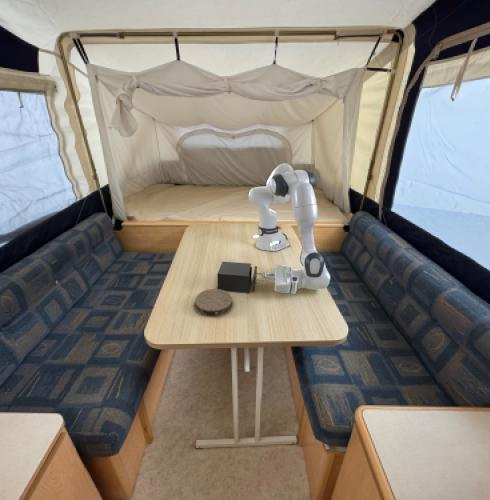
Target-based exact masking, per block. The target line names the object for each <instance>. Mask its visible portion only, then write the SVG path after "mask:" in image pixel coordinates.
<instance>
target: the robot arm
mask: <svg viewBox="0 0 490 500" xmlns="http://www.w3.org/2000/svg"><path fill="white" fill-rule="evenodd" d="M315 185H316V176H315V174H314V172H313V171H312V170H310V169H306V168H305V169H304V168H303V169H295V170H294V168H293V167H292V165H290V164H288V163H287V162H286V163H285V162H283V163H280V164H278V165H277V166H276V167H275V169H273V171H272V172H271V174H270V176H269V177H268V179H267V181H266V185H265V186H255V187H252V188H251V189H250V190H249V193H248V200H249V202H250V204H252V205H253V206H254V207H255V208H256V210H257V212H258V226H257V235H253V238H257V239H256V242H255V247H256V248H257V249H259V250H261V251H270V252H277V251H279V250H282V249H285V248H287V247H289V246H290V243H289V242H288V241H287V240H288V236H287V235H286V233H284V232H281V230H282V229H283V227H282V226H280V225H278V224H277V223H278V213H277V212H276V211H275V210H273V209H271V208H270V206H274V205H277V206H278V205H284V204H288V202H289V201H291V209H292V215H293V217H294V220H295V224H296V226H297V229H298V231H299V236H300V244H301V251H300V255H299V263H300V264H301V266H302V267H303V269H293V268H292V267H290V266H288V265H285V264H275V265H274V272H269V273H267V272H266V273H265V280H266V281H269V282H272V283H274V286H273V287H274V289H273V290H274V292H276V293H281V294H291V295H296V293H297V291H298V290H299V289H307V290H313V291H316V290H317V291H319V290H326V289H328V287H329V286H330V284H331V274H330V272H329V271H328V269H327V265H326V261H325V258H324V256H323V255H322V254H321V253H320V252H319V251H318V250H317V248H316V243H315V237H314V228H315V224H316V222H317V220H318V218H319V217H318V216H319V215H318V214H319V212H318V209H319V208H318V202H317V198H316V194H315V191H314V187H315Z"/></svg>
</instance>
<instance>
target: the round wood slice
mask: <svg viewBox="0 0 490 500" xmlns="http://www.w3.org/2000/svg"><path fill="white" fill-rule="evenodd" d="M194 301H195V302H194V303H195V309H196V311H197V312H198V313H199V314H201V315H203V316H207V317H219V316H222V315H225V314H227V313H228V312H230V310H231V309H232V306H233V298H232V296H231V294H230V293H229V291H224V290H220V289H218V288H210V289H206V290H203V291H200V292H199V293H198V294H197V295H196V296H195V299H194Z"/></svg>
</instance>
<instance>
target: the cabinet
mask: <svg viewBox="0 0 490 500" xmlns="http://www.w3.org/2000/svg"><path fill="white" fill-rule="evenodd" d="M251 267H252V263H250V262H234V261H221V264H220V266H219V269H218V271H217V274H216V275H217V277H216V278H217V289H220V290H224V291H226V292H234V293H244V294H247V293H248V294H249V290H250V289H248V285H249V273H250V268H251Z"/></svg>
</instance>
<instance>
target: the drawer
mask: <svg viewBox="0 0 490 500" xmlns="http://www.w3.org/2000/svg"><path fill="white" fill-rule="evenodd" d="M265 274H266V273H265V272H264V271H263V272H258V265H254V269H253V266H251V268H250V273H249V285H248V289H249V290H250V289H251V285H252V290H251V291H252V292H255V291H256V286H257V282H261V283H265ZM258 275H259V276H261V279H259V278H258Z"/></svg>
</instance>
